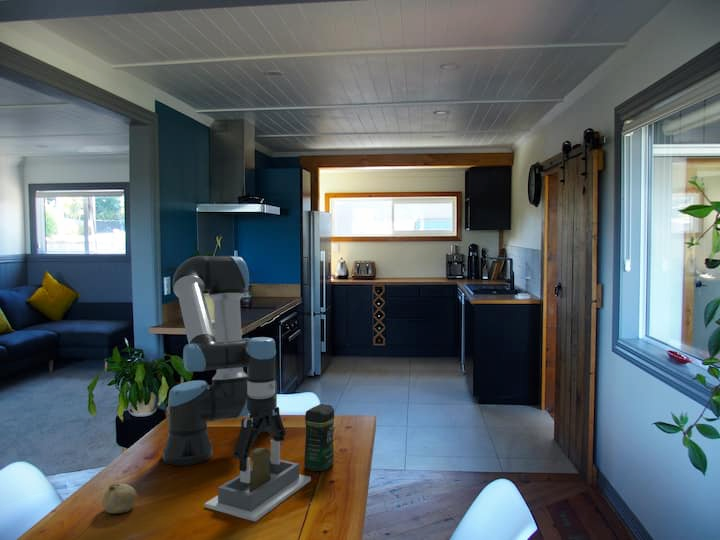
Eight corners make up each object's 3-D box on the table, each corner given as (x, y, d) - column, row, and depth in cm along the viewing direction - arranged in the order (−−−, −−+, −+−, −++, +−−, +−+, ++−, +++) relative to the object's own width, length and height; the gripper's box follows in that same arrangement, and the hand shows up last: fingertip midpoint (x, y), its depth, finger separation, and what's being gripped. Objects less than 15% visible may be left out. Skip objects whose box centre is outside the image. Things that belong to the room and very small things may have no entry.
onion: (123, 500, 139) (123, 473, 139) (143, 507, 135) (143, 480, 135) (95, 512, 132) (95, 485, 132) (115, 521, 128) (115, 492, 128)
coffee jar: (323, 474, 157) (324, 412, 156) (300, 469, 160) (300, 409, 159) (337, 462, 165) (338, 403, 165) (315, 458, 169) (315, 400, 168)
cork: (276, 486, 146) (276, 447, 145) (263, 496, 140) (263, 455, 140) (258, 482, 148) (258, 444, 148) (244, 491, 143) (244, 451, 142)
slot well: (255, 521, 129) (255, 501, 129) (204, 507, 136) (204, 487, 136) (310, 480, 152) (310, 463, 152) (265, 469, 159) (265, 453, 159)
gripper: (242, 409, 130) (242, 494, 131) (297, 386, 153) (297, 458, 153) (219, 405, 134) (219, 487, 134) (276, 383, 156) (276, 454, 157)
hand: (260, 472), depth 144 cm, fingers open, 13 cm apart
